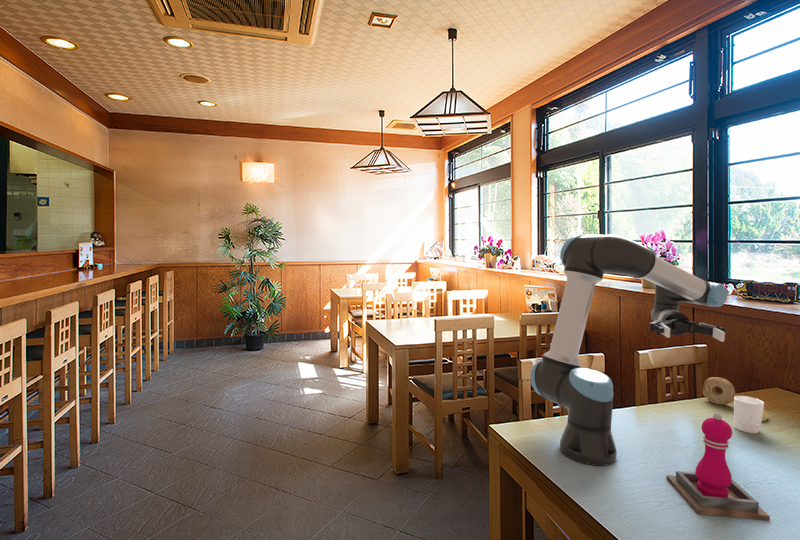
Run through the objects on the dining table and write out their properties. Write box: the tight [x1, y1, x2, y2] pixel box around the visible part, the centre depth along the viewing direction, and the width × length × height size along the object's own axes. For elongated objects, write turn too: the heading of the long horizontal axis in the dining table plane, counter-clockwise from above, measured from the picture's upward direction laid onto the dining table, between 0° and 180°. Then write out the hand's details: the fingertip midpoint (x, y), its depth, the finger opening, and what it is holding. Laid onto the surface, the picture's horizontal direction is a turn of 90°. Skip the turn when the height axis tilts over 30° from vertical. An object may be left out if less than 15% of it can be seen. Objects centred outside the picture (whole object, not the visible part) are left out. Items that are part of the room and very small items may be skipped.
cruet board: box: [666, 470, 771, 521], centre depth 108 cm, size 15×15×3 cm
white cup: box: [733, 395, 765, 434], centre depth 148 cm, size 8×8×10 cm
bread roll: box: [761, 408, 769, 422], centre depth 159 cm, size 8×9×4 cm
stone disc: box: [702, 376, 736, 405], centre depth 171 cm, size 10×4×10 cm, turn 39°
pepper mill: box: [694, 412, 733, 498], centre depth 107 cm, size 7×7×20 cm
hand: (695, 335), depth 128 cm, fingers open, 13 cm apart
